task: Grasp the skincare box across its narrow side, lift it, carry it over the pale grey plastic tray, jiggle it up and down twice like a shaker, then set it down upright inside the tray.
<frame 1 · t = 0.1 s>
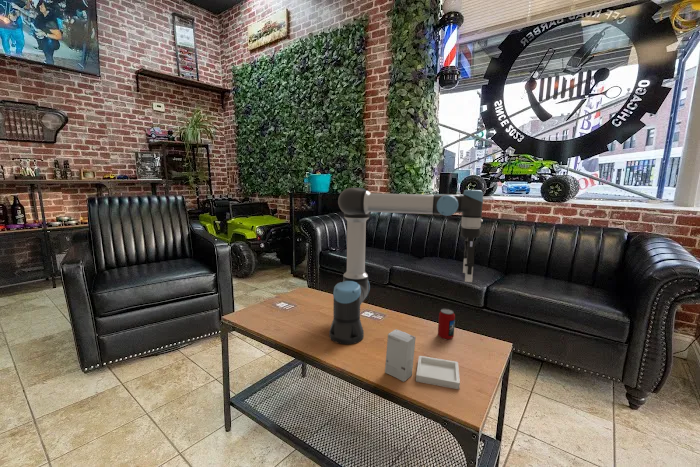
hand: (467, 277, 131), 28 cm above the table, fingers open, 13 cm apart
skincare box: (399, 374, 109), on the table
tray: (437, 374, 109), on the table
beverage can: (445, 337, 137), on the table
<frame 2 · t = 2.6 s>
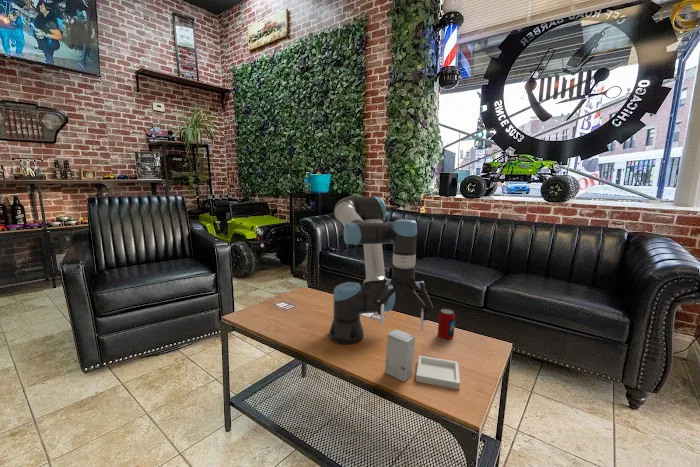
hand: (401, 326, 106), 18 cm above the table, fingers open, 13 cm apart
nothing on the table moved.
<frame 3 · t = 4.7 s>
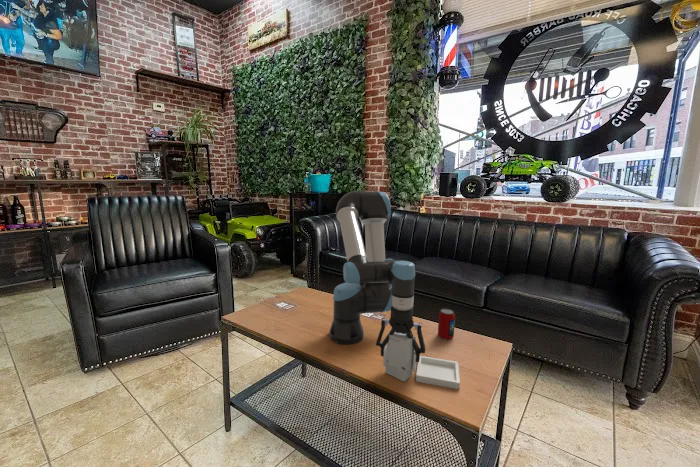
hand: (399, 367, 109), 3 cm above the table, fingers closed on skincare box, 10 cm apart
skincare box: (399, 374, 109), on the table, touching gripper
everything else where it was.
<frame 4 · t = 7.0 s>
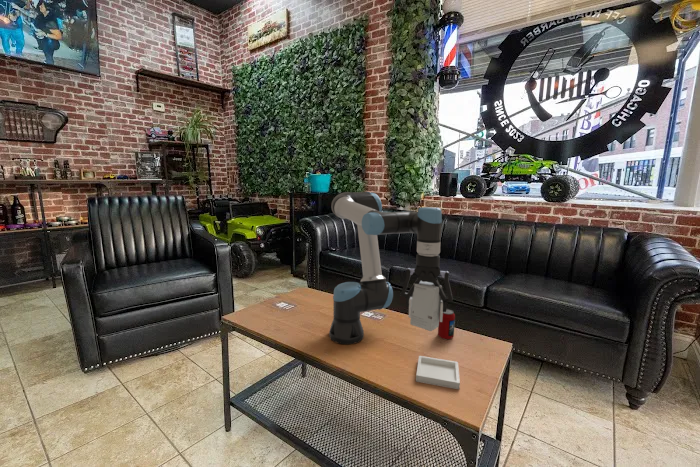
hand: (425, 318, 106), 21 cm above the table, fingers closed on skincare box, 10 cm apart
skincare box: (425, 326, 106), point 18 cm above the table, touching gripper
everything else where it was.
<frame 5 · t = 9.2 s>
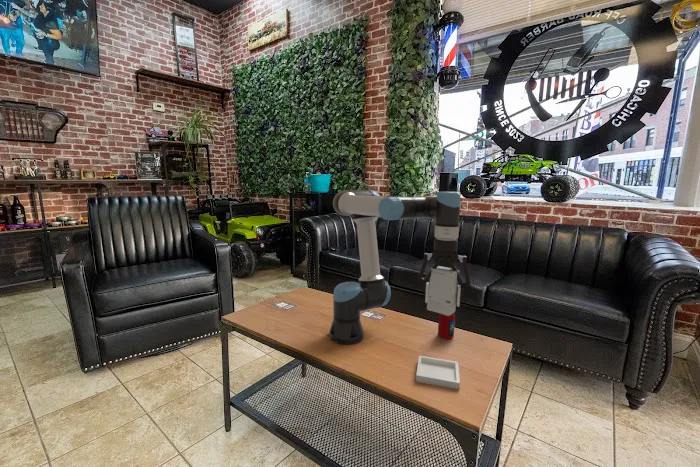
hand: (442, 303, 105), 26 cm above the table, fingers closed on skincare box, 10 cm apart
skincare box: (441, 311, 106), point 24 cm above the table, touching gripper
everything else where it was.
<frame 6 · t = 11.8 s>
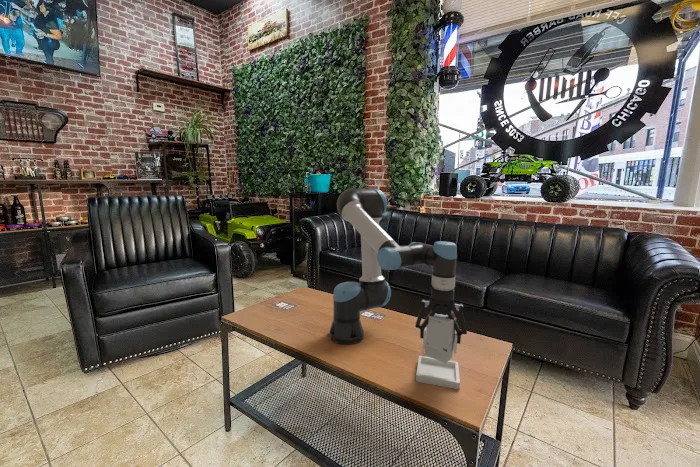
hand: (439, 349, 108), 10 cm above the table, fingers closed on skincare box, 10 cm apart
skincare box: (439, 357, 108), point 7 cm above the table, touching gripper
everything else where it was.
when the fingers open (5 cm above the table, at t = 14.0 s): skincare box drops 1 cm, resting on tray.
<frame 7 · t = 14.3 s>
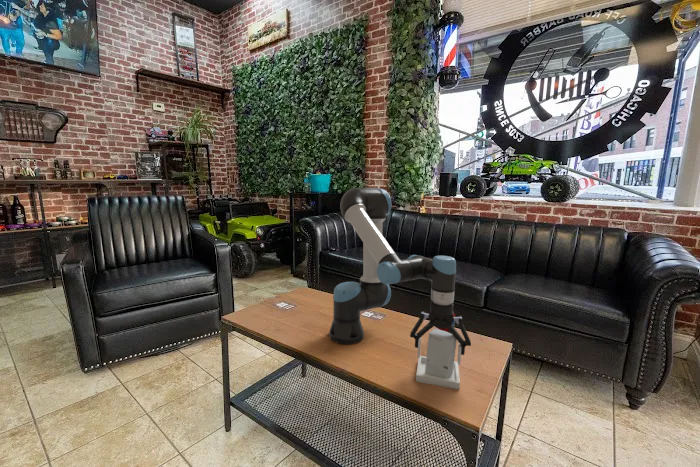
hand: (438, 359, 109), 6 cm above the table, fingers open, 13 cm apart
skincare box: (439, 373, 109), resting on tray
everything else where it was.
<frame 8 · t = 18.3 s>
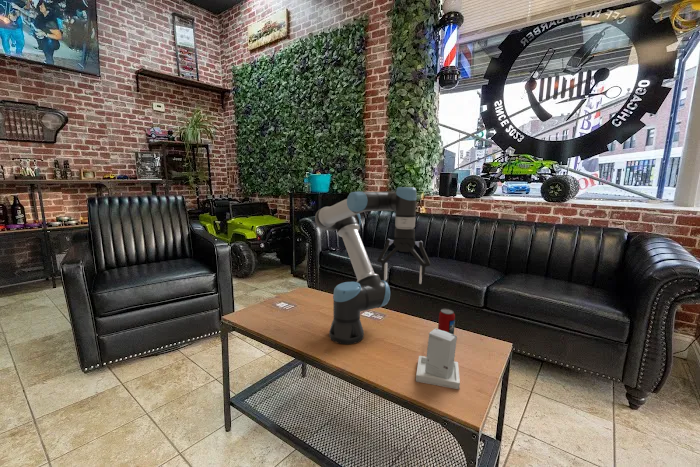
hand: (402, 281, 122), 29 cm above the table, fingers open, 13 cm apart
nothing on the table moved.
at the end: skincare box inside the target area on the tray (0.7 cm from its centre), point 0.4 cm above the tray's base; skincare box tilted 0°; the gripper is holding nothing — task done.
